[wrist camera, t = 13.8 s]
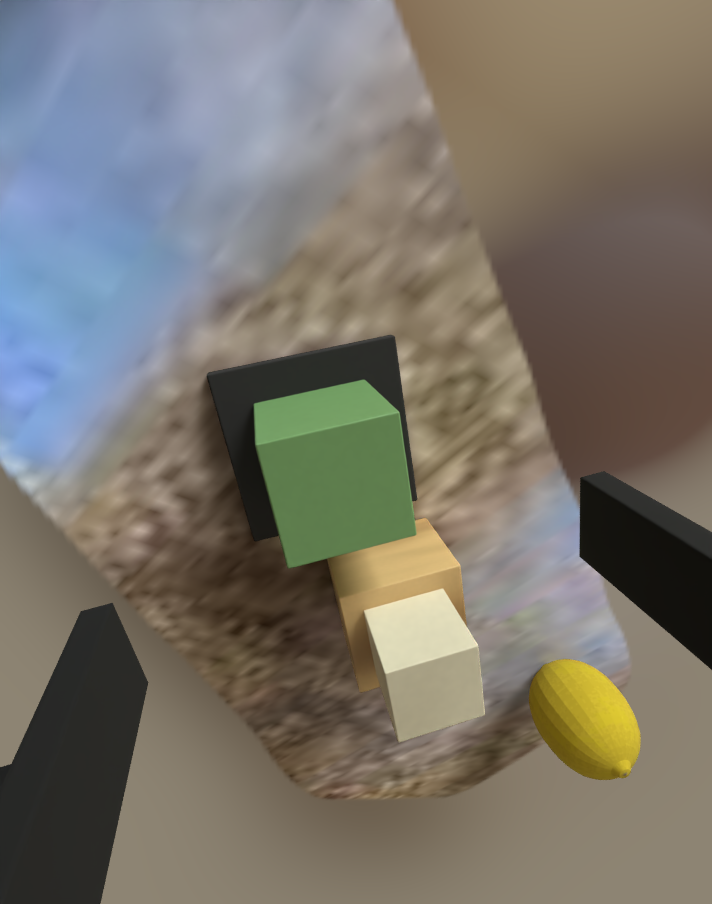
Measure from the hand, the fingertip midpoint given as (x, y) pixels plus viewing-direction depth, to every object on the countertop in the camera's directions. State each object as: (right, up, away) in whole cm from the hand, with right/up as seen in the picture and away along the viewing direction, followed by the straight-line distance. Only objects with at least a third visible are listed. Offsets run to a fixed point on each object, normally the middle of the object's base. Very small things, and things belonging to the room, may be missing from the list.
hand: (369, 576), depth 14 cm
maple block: (+1, -4, +15) cm, 16 cm away
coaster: (-2, +4, +12) cm, 13 cm away
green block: (-2, +4, +11) cm, 12 cm away
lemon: (+13, -11, +21) cm, 27 cm away
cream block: (+2, -5, +11) cm, 12 cm away
